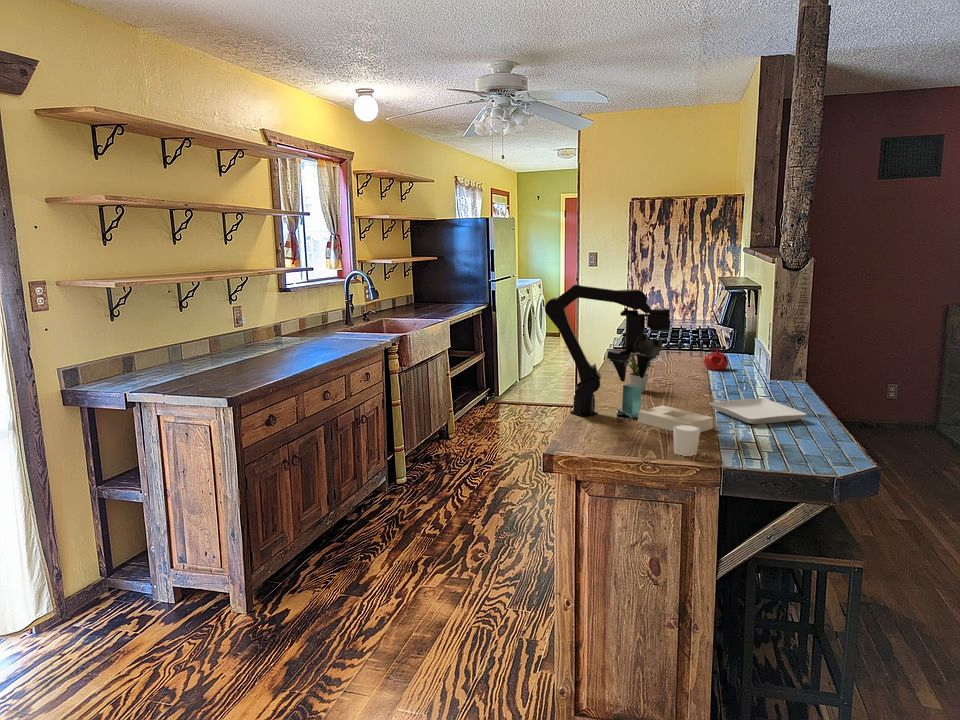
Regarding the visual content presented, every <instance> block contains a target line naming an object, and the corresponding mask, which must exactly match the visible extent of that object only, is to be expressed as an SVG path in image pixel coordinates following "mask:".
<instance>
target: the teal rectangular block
mask: <svg viewBox="0 0 960 720" xmlns="http://www.w3.org/2000/svg"><path fill="white" fill-rule="evenodd" d="M622 386H623V387H622V402H621V403H622V404H621V405H622V407H621V414H622V413H625V414H627V415H628V416H629V417H630V418H629V419H635V418H638V411H641V407H642V406H641V405H642V404H641V403H642V392H641V388H642V386H641V385H636V384H630V383H627V384H623V385H622Z"/></svg>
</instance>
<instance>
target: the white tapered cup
mask: <svg viewBox="0 0 960 720" xmlns="http://www.w3.org/2000/svg"><path fill="white" fill-rule="evenodd" d="M672 434H673V453H674V454H675V455H676V454H678V455H677V456H679V455H682V456H681V457H684V456H693V455H697V453H698V447H699V440H700V435H701V432H700V428H699V427H696V426H692V425H675V426H673V432H672ZM693 457H694V456H693Z"/></svg>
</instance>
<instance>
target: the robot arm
mask: <svg viewBox="0 0 960 720" xmlns="http://www.w3.org/2000/svg"><path fill="white" fill-rule="evenodd" d="M579 298H580V299H587V300H594V301H602V302H607V303H608V302H609V303H614V304H618V305H620V306H624V309H623V310H622V311H621V312H619V313H620V316H621V317H624V316H625V318H626V319H625V331H624V332H622V337H623V338H624V345H621V349H620V348H612V349H609V350H608V351H607V356H606V357H607V359H608V360H609V362H612V364H613V366H614V368H615V371H616V372H617V375H618V377H619V379H620V381H621V382H625V380H626V375H627V367H628V365H627V364H630V362H631V361H630V360H629V358H630V359H631V356H634V357H635V356H636V360H637V361H638V368H639V374H640V378H644V375H645V373H646V372H647V371H648V368H649V367H648V366H649V364H650V363H652V361H653V360H654V359H657V357H658V356H660V352H662V351H663V341H662V340H660V339H655V340H649V338H648V336H649V335H648V334H647V333H645V330H646V329H645V326H646V328H649V329H650V332H670V329H671V319H670V317H671V315H670V313H671V312H670V309H668V308H666V309H665V308H663V309H655V308H653V309H652V306H650V305H648V303H647V295H646V294H645V292H643V290H641V289H637V288H633V289H621V290H620V289H617V290H616V289H609V288H601V287H593V286H587V285H586V286H585V285H581V284H574V285H572V286H571V287H570V288H569V289H568V290H566V291H565V292H564V293H562V294H561V295H560V296H557V297H552V298H550V299H549V300H548V301H547V302H546V303H545V306H544V312H545V314H546V316H547V317H548V318H549V320H551V322H552V323H553V324H554V325H555V327H556V328H557V329H558V331H559V333H560V335H561V337H562V340H563V341H564V344H565V345H566V347H567V350H568V352H569V354H570V356H571V358H572V359H573V362H574V364H575V366H576V369H577V372H578V373H577V374H578V377H579V380H580V381H579V382H578V383H577V384H576V385H575V390H574V393H575V394H574V395H573V410H570V411H569V413H570V412H571V413H570V414H572V415H575V416H580V417H590V416H594V415H597V414H598V411H595V407H596V405H595V403H596V399H595V394H594V393H595V392H597V391H598V390H599V389H600V387H601V379H602V377H601V376H602V375H601V372H599V370H598V367H597V363H594V364H592V365H591V363H590V362H589V361H588V358H587V357H586V354H585V353H584V351H583V348H582V347H581V345H580V342H579V340H578V339H577V336H576V335H575V333H574V331H573V328H572V326H571V324H570V321H569V318H568V313H567V310H566V307H568V306H569V305H570V304H572V303H573V302H574V301H575V300H577V299H579ZM628 308H630V309H628ZM631 309H632V310H631ZM639 310H641V312H643V313H639ZM637 361H636V362H637ZM646 374H647V373H646Z"/></svg>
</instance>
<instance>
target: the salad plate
mask: <svg viewBox="0 0 960 720" xmlns="http://www.w3.org/2000/svg"><path fill="white" fill-rule="evenodd" d="M709 405H710V406H711V407H712V409H715V410H716V411H718V412H720V413H723V414H724V415H726V416H729V417H731V418H734V419H737V420H739V421H742V422H744V423H746V424H750V425H762V424H765V425H766V424H776V423H785V422H786V423H787V422H795V421H797V420H801V419H803V418H805V417H806V416H807V414H808V413H806V412H804V411H801V410H798V409H797V408H796V409H795V408H793V407H790V406H788V405H784V404H782V403H779V402H776V401H773V400H770V399H767V398H763V397H758V398H746V399H745V398H744V399H733V400H732V399H731V400H721V401H712V402H711V401H710V402H709Z"/></svg>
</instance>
